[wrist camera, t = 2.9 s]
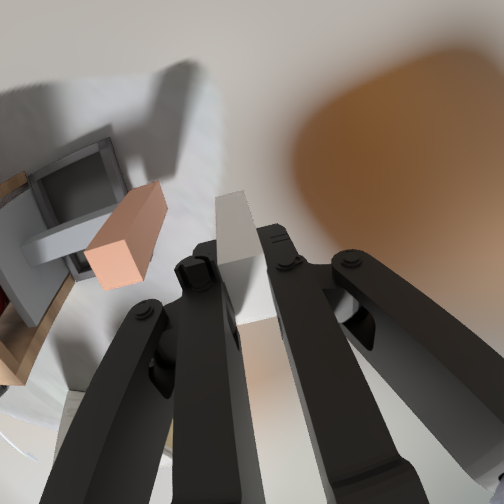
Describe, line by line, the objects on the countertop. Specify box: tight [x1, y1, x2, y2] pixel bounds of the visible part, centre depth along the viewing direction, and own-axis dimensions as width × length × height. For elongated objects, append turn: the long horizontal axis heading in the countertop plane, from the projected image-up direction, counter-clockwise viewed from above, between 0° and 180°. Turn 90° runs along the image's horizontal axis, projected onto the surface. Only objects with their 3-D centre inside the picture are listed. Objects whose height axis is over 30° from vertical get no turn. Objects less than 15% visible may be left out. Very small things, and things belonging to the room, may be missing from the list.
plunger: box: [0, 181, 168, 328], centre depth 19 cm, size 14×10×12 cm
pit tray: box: [28, 137, 153, 282], centre depth 24 cm, size 9×12×1 cm
